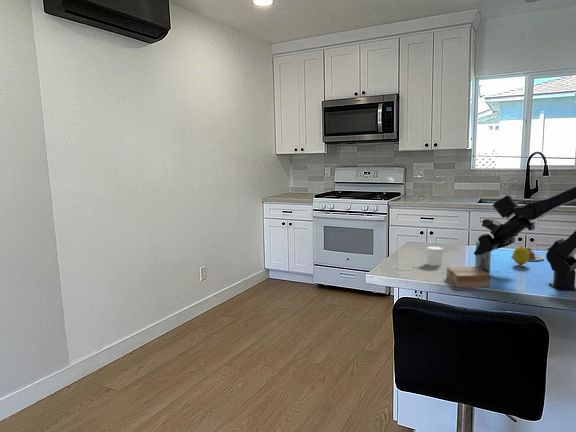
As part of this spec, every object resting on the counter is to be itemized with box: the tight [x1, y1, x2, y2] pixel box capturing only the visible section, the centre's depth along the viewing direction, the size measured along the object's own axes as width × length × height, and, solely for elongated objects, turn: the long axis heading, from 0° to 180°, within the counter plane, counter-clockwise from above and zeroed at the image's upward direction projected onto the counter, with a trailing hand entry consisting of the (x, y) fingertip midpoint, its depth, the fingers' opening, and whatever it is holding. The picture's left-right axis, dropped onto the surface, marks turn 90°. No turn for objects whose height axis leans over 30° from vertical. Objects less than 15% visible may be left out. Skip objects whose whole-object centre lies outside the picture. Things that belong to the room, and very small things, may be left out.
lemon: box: [512, 245, 529, 267], centre depth 168 cm, size 6×6×8 cm
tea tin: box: [474, 237, 492, 274], centre depth 161 cm, size 5×5×12 cm
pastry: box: [511, 247, 545, 262], centre depth 180 cm, size 12×12×5 cm
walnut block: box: [446, 266, 492, 288], centre depth 148 cm, size 11×11×4 cm
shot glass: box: [425, 245, 444, 267], centre depth 173 cm, size 7×7×7 cm
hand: (480, 252), depth 162 cm, fingers open, 9 cm apart
